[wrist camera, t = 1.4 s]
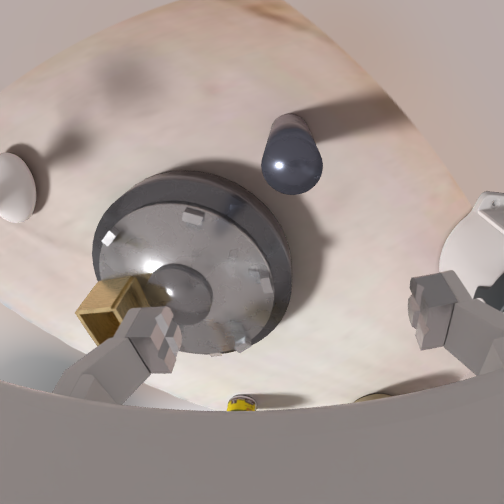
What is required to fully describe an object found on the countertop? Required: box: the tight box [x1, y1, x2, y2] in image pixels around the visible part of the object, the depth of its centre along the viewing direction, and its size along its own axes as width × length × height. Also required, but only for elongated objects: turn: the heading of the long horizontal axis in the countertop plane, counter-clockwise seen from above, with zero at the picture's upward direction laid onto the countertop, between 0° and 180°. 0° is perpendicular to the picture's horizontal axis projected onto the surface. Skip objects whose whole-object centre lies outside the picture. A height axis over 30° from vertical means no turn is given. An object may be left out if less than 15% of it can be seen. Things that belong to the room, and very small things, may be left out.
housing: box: [92, 171, 291, 357], centre depth 40 cm, size 26×26×4 cm
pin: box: [261, 114, 323, 195], centre depth 26 cm, size 4×4×14 cm
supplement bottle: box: [227, 395, 257, 411], centre depth 54 cm, size 6×6×10 cm
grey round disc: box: [75, 200, 274, 357], centre depth 36 cm, size 22×22×7 cm
